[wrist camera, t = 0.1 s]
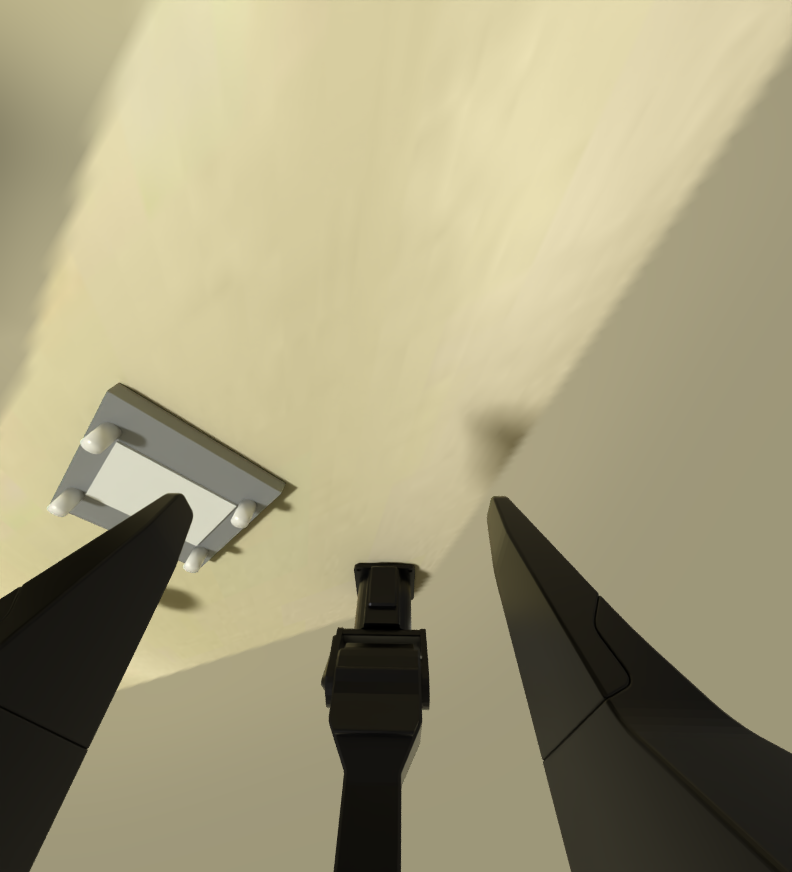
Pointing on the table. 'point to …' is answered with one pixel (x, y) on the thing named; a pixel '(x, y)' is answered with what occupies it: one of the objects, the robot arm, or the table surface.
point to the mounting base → (161, 475)
